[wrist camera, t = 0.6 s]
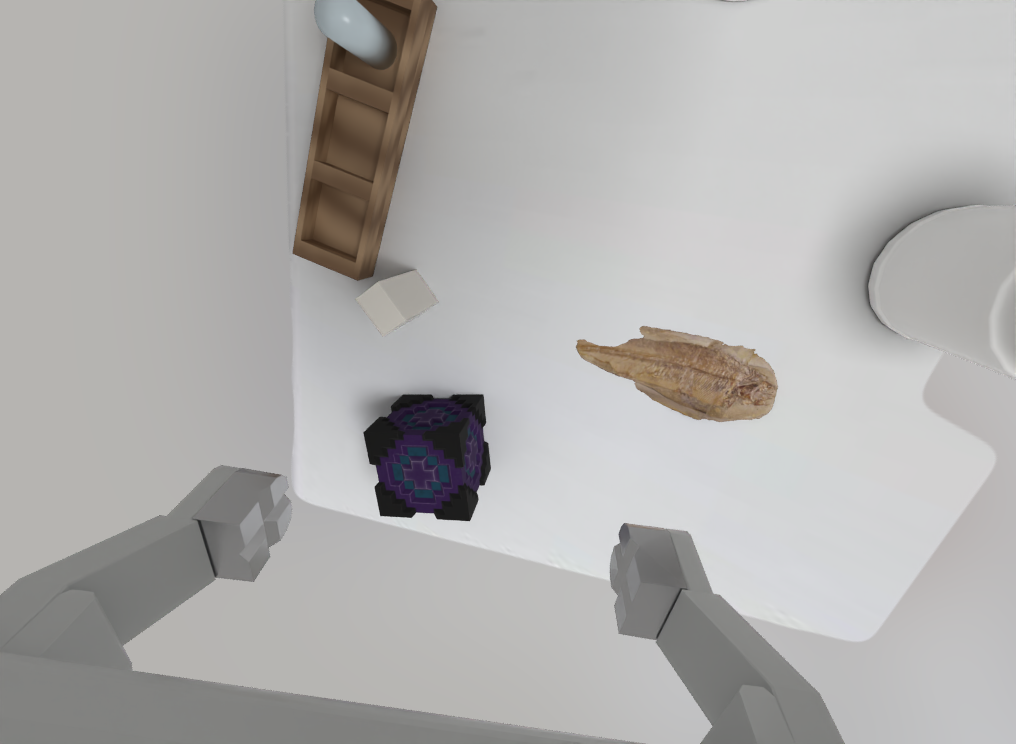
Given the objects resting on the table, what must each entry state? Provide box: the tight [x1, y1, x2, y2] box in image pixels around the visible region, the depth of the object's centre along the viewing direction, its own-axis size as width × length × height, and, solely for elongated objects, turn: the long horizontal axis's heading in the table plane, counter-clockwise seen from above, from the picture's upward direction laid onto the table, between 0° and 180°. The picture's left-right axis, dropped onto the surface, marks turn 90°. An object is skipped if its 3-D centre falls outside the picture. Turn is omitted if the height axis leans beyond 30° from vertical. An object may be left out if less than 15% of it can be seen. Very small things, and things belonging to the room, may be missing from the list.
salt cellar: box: [314, 0, 397, 70], centre depth 43 cm, size 4×4×9 cm
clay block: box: [355, 270, 439, 337], centre depth 53 cm, size 4×5×11 cm
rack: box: [293, 0, 437, 281], centre depth 51 cm, size 30×9×4 cm, turn 160°
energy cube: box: [364, 395, 491, 521], centre depth 59 cm, size 12×12×12 cm
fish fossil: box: [576, 326, 778, 422], centre depth 55 cm, size 26×10×1 cm, turn 79°
